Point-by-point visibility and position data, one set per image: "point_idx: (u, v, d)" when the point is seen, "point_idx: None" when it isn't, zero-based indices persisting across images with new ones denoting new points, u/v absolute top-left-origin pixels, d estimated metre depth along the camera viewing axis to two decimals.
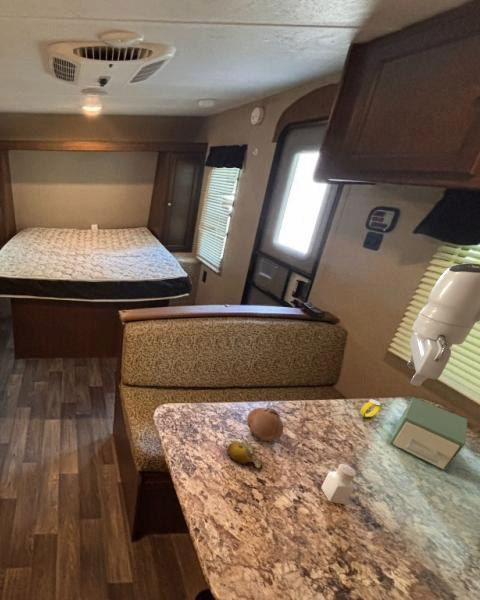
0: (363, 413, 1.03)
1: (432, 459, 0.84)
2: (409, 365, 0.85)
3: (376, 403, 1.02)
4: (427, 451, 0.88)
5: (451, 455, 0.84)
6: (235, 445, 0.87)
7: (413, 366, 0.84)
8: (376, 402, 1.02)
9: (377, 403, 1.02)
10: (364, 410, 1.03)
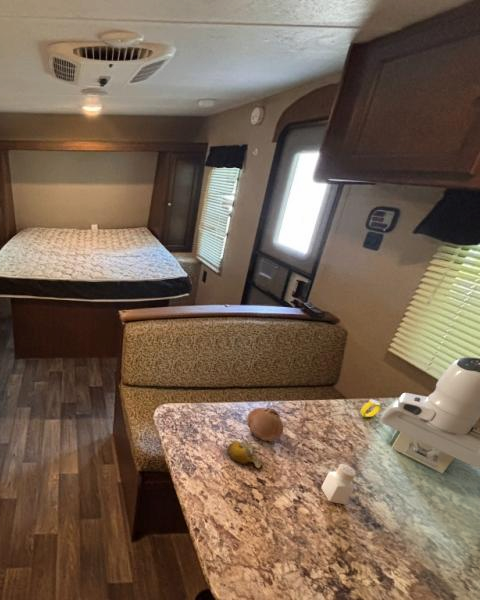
0: (363, 413, 1.03)
1: (431, 463, 0.82)
2: (421, 453, 0.85)
3: (376, 403, 1.02)
4: None
5: (450, 459, 0.83)
6: (235, 445, 0.87)
7: None
8: (376, 402, 1.02)
9: (377, 403, 1.02)
10: (364, 410, 1.03)
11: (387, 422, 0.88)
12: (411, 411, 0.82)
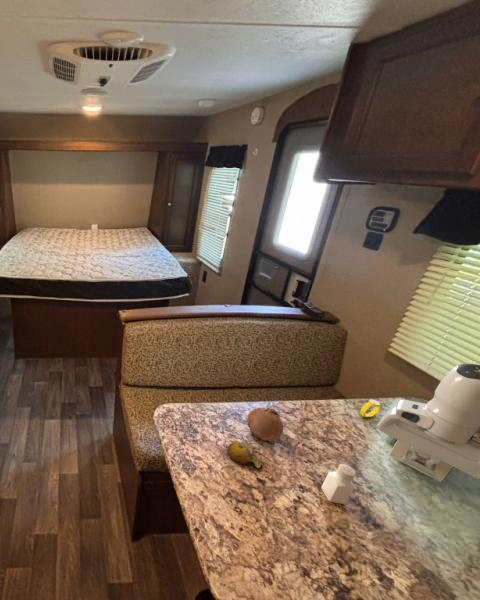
0: (363, 413, 1.03)
1: (429, 472, 0.80)
2: (419, 462, 0.82)
3: (376, 403, 1.02)
4: None
5: (449, 468, 0.80)
6: (235, 445, 0.87)
7: None
8: (376, 402, 1.02)
9: (377, 403, 1.02)
10: (364, 410, 1.03)
11: (384, 430, 0.85)
12: (409, 419, 0.80)
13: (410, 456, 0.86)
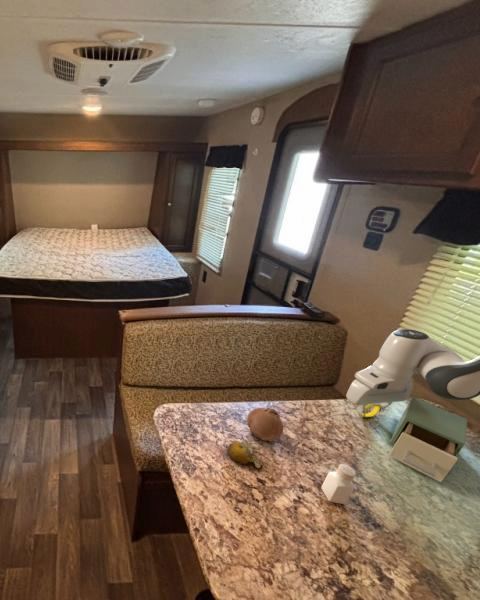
0: (363, 413, 1.03)
1: (429, 472, 0.80)
2: None
3: None
4: (424, 463, 0.84)
5: (449, 468, 0.80)
6: (236, 445, 0.87)
7: None
8: None
9: None
10: None
11: (360, 403, 0.99)
12: (381, 388, 0.95)
13: (410, 456, 0.86)
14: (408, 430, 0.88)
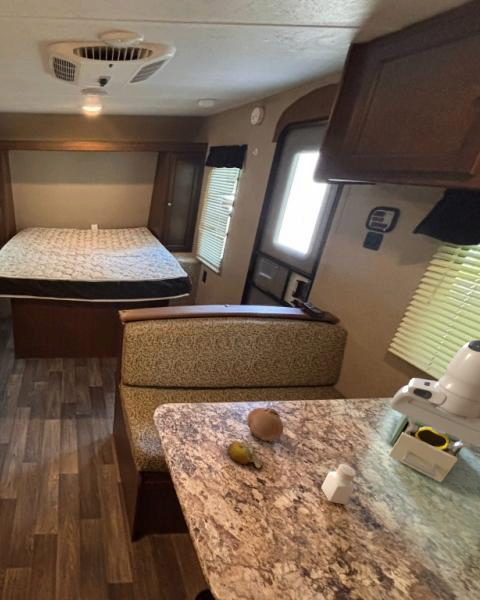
0: None
1: (429, 472, 0.80)
2: (416, 431, 0.86)
3: (437, 430, 0.83)
4: (424, 463, 0.84)
5: (449, 468, 0.80)
6: (236, 445, 0.87)
7: None
8: (440, 431, 0.83)
9: (439, 431, 0.82)
10: None
11: (396, 408, 0.87)
12: (421, 395, 0.82)
13: (410, 456, 0.86)
14: None
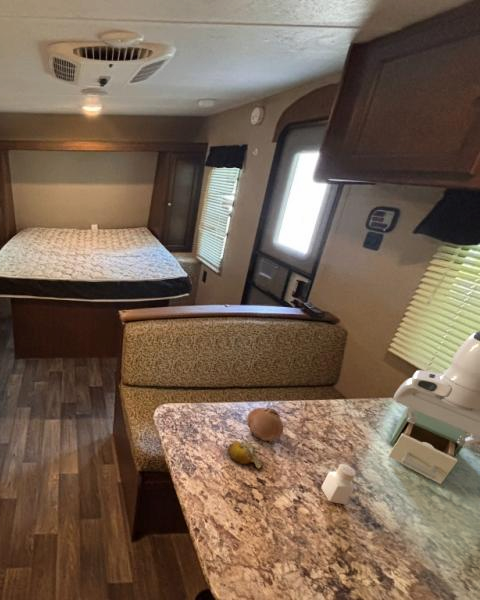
0: None
1: (429, 474, 0.79)
2: (414, 422, 0.86)
3: None
4: (424, 465, 0.83)
5: (449, 470, 0.80)
6: (236, 445, 0.87)
7: None
8: None
9: None
10: None
11: (400, 400, 0.86)
12: (426, 388, 0.81)
13: (410, 458, 0.85)
14: (408, 431, 0.87)
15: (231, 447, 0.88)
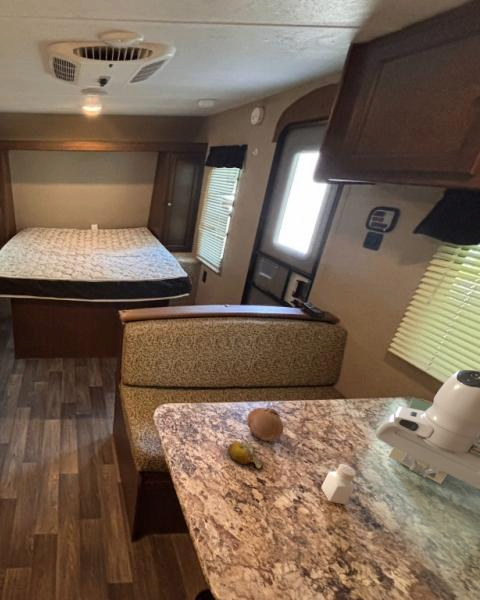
0: None
1: (429, 474, 0.79)
2: (418, 471, 0.80)
3: None
4: (424, 465, 0.83)
5: None
6: (236, 445, 0.87)
7: None
8: None
9: None
10: None
11: (382, 438, 0.83)
12: (407, 427, 0.77)
13: None
14: None
15: (231, 447, 0.88)
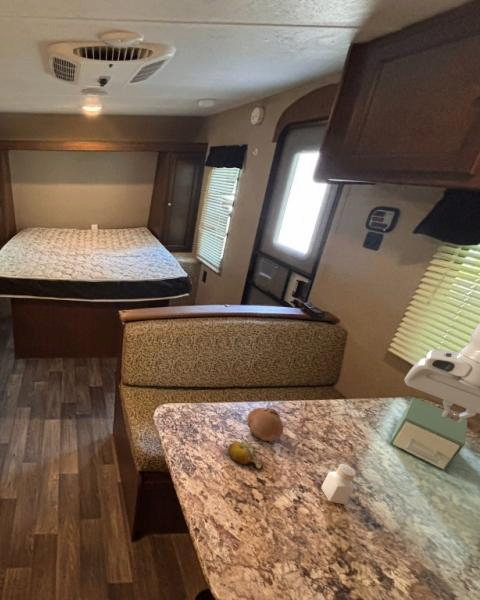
0: None
1: (432, 459, 0.84)
2: (452, 417, 0.75)
3: None
4: (427, 451, 0.88)
5: (451, 455, 0.84)
6: (236, 445, 0.87)
7: None
8: None
9: None
10: None
11: (412, 383, 0.78)
12: (442, 368, 0.72)
13: (414, 444, 0.90)
14: None
15: (231, 447, 0.88)
